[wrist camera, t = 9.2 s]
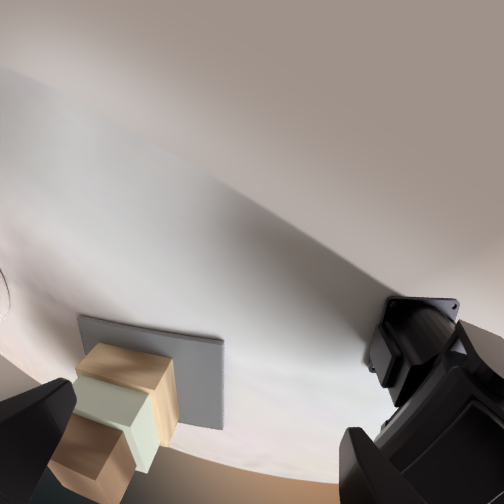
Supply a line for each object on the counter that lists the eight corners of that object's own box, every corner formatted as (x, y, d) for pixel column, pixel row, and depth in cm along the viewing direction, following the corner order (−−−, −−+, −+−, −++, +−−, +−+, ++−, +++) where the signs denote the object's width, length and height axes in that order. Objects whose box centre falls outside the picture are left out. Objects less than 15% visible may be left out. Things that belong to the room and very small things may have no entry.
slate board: (223, 340, 22) (222, 345, 21) (223, 425, 25) (222, 430, 24) (80, 315, 23) (77, 318, 22) (102, 397, 26) (99, 401, 25)
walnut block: (123, 431, 16) (95, 480, 11) (136, 465, 17) (116, 509, 13) (69, 411, 16) (38, 452, 12) (87, 448, 17) (63, 486, 13)
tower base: (172, 358, 22) (154, 390, 18) (179, 416, 24) (167, 447, 20) (98, 342, 23) (74, 367, 19) (113, 399, 25) (96, 425, 21)
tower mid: (149, 393, 19) (130, 427, 15) (160, 442, 20) (147, 473, 17) (81, 374, 19) (57, 400, 16) (99, 423, 21) (82, 449, 18)
